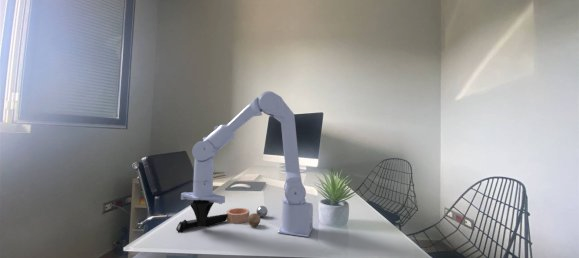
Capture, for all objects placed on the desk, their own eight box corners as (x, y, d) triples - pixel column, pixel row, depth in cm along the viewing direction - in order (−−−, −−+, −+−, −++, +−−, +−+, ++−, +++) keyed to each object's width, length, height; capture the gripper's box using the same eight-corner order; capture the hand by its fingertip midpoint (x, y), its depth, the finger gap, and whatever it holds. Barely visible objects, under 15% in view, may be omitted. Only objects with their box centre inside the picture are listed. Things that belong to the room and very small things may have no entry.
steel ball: (269, 216, 85) (269, 205, 85) (264, 219, 81) (265, 208, 82) (258, 214, 86) (259, 204, 87) (254, 218, 83) (254, 206, 83)
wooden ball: (262, 224, 76) (262, 212, 77) (257, 229, 73) (257, 216, 73) (251, 223, 77) (251, 211, 78) (245, 227, 74) (246, 214, 74)
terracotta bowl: (252, 216, 84) (252, 209, 84) (242, 224, 76) (242, 215, 76) (233, 214, 86) (234, 207, 86) (222, 221, 78) (222, 213, 78)
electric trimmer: (228, 224, 77) (229, 214, 77) (178, 234, 68) (178, 223, 68) (224, 221, 80) (225, 211, 80) (175, 229, 71) (176, 219, 71)
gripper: (174, 180, 70) (172, 226, 69) (216, 184, 66) (214, 232, 65) (190, 177, 77) (188, 218, 76) (229, 180, 73) (227, 224, 72)
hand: (201, 224), depth 71 cm, fingers closed
